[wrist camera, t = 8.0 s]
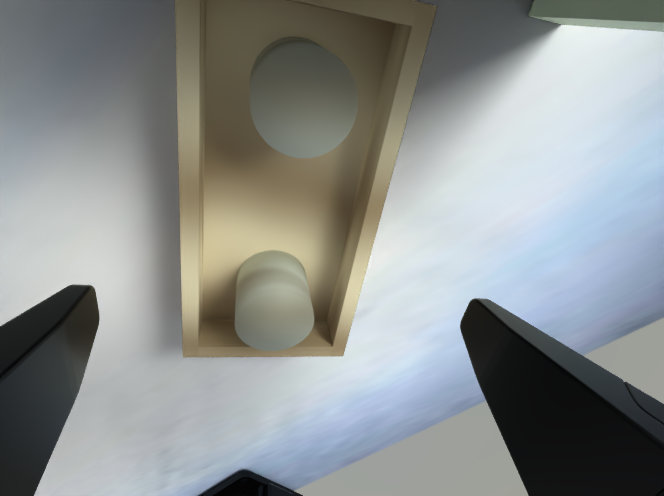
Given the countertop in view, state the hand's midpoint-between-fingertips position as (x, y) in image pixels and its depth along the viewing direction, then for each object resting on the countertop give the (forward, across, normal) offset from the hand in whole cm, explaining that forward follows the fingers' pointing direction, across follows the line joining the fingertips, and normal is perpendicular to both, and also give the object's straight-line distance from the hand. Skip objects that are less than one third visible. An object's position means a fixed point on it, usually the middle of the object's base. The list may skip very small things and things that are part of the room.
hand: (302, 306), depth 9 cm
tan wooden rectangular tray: (+8, 0, 0) cm, 8 cm away
